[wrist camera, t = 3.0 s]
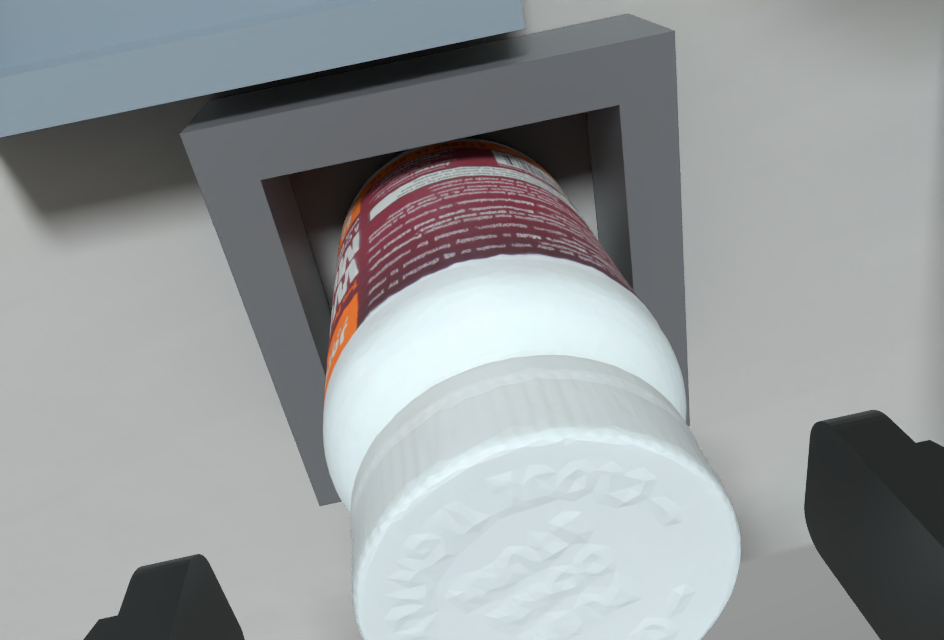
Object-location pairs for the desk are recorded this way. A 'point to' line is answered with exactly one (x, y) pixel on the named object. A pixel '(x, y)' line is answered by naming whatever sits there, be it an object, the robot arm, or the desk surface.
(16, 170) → the desk surface
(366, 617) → the pill bottle
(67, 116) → the parts tray
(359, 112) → the gray hollow square frame
